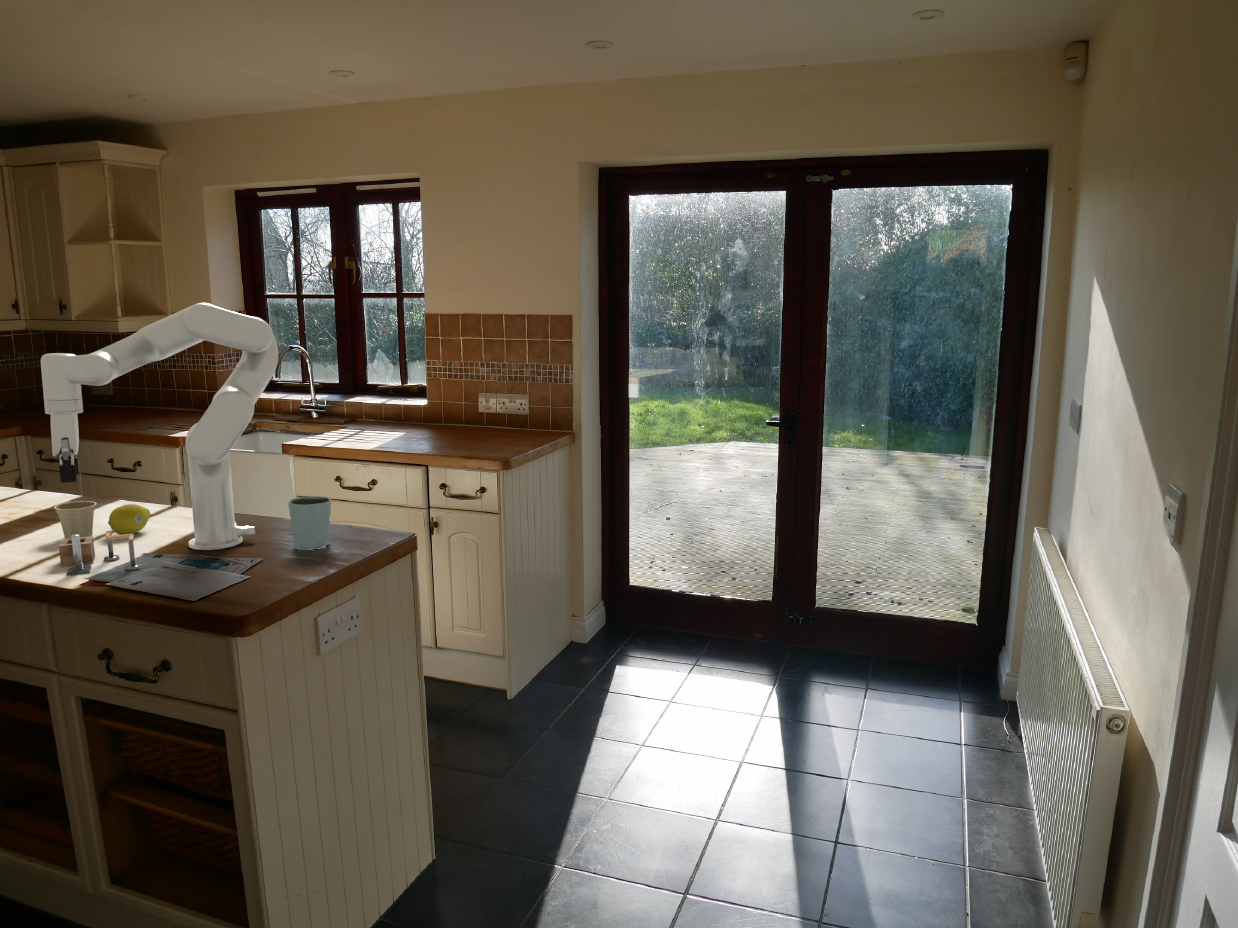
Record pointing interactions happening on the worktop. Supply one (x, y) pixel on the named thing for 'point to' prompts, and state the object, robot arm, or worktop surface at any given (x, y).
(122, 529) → the lemon
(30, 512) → the worktop surface
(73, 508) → the flower pot
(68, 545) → the open wooden box
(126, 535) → the buzz wire
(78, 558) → the peg stand
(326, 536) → the light blue cup
